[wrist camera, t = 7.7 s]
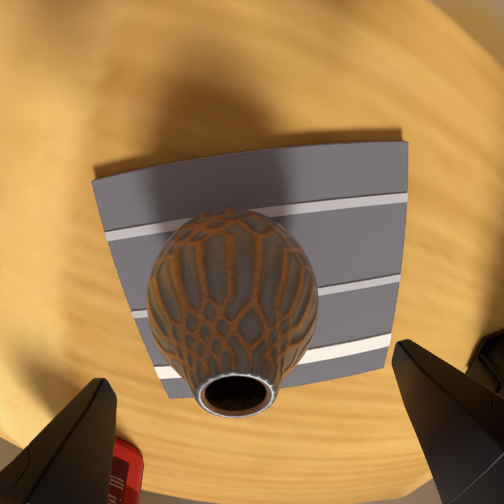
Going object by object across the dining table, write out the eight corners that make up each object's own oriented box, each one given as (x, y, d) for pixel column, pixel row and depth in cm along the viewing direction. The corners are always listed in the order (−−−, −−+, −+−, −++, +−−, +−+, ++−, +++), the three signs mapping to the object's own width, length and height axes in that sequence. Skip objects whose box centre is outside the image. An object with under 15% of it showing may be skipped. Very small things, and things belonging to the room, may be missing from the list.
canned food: (108, 466, 28) (94, 543, 18) (62, 431, 25) (37, 516, 15) (159, 463, 27) (152, 552, 18) (113, 426, 24) (92, 529, 14)
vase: (224, 329, 18) (226, 464, 11) (137, 249, 16) (75, 379, 8) (323, 262, 17) (386, 390, 9) (240, 160, 14) (256, 243, 6)
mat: (402, 140, 15) (409, 142, 14) (380, 362, 22) (384, 368, 21) (95, 178, 15) (90, 181, 14) (170, 392, 22) (169, 399, 21)
